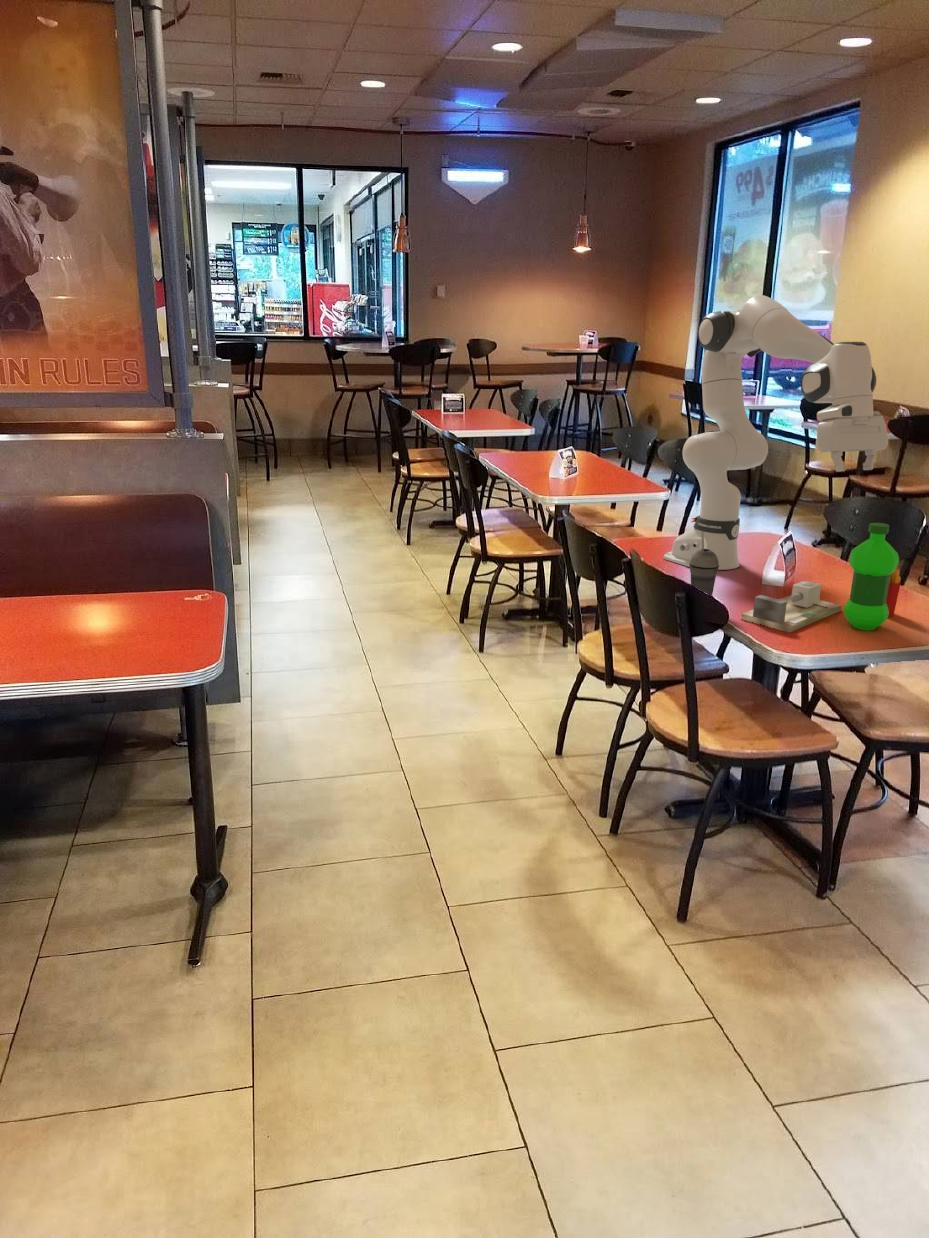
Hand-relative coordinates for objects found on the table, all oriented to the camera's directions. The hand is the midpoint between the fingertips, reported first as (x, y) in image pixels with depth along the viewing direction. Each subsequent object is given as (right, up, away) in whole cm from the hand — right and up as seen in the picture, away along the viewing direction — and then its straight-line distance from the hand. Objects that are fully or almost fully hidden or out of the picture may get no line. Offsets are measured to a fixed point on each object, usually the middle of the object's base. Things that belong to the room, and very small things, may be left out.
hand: (854, 470), depth 216 cm
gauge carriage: (-6, -32, +13) cm, 35 cm away
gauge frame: (-10, -34, +12) cm, 38 cm away
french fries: (+13, -34, +15) cm, 39 cm away
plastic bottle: (+4, -37, +4) cm, 37 cm away
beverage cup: (-32, -33, +17) cm, 49 cm away
